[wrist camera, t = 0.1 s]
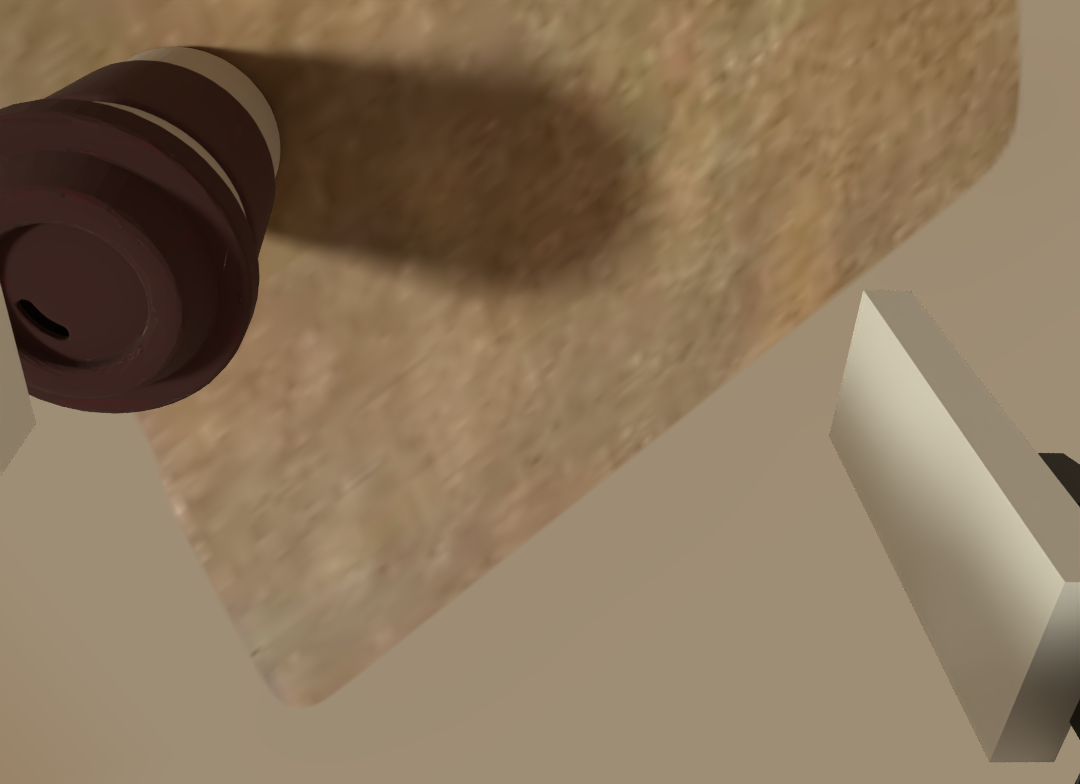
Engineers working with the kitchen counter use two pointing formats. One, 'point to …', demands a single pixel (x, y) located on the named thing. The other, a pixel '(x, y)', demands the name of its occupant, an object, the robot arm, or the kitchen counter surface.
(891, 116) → the kitchen counter surface
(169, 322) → the coffee cup
